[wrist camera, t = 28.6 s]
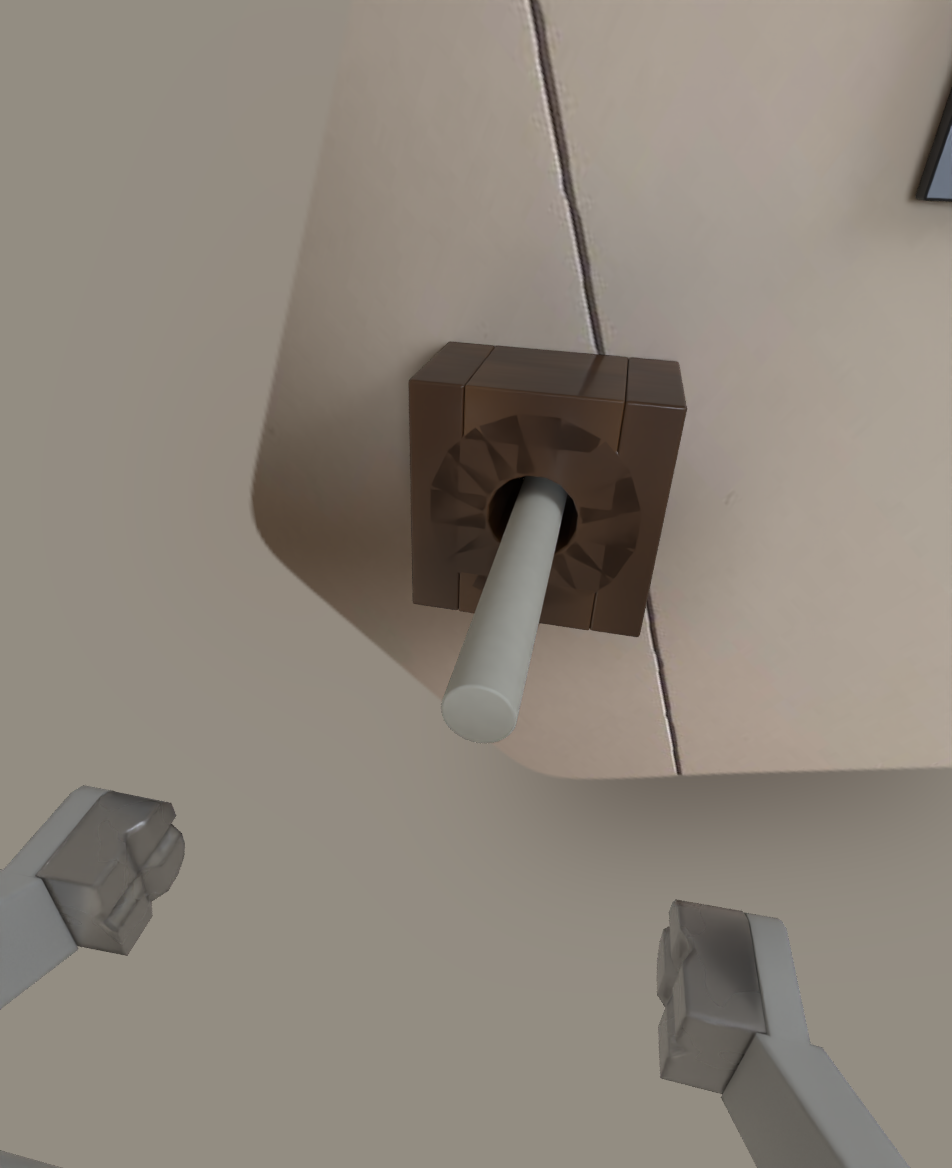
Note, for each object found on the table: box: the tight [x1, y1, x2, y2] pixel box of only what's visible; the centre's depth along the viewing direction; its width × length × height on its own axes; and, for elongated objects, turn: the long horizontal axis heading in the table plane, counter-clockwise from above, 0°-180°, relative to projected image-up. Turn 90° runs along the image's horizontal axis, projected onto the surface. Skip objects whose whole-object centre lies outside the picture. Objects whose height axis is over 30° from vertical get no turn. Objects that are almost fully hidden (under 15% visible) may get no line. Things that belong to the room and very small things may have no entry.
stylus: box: [441, 476, 567, 743], centre depth 20 cm, size 2×2×14 cm
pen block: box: [409, 342, 687, 637], centre depth 23 cm, size 8×8×5 cm
